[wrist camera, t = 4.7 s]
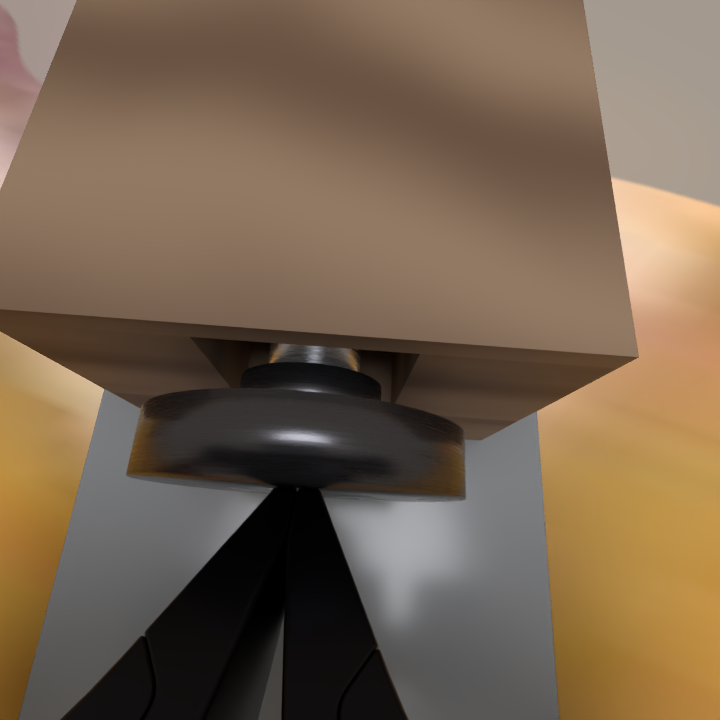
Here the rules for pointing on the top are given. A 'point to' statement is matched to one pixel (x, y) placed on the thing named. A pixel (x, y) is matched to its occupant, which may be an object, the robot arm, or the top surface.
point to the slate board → (366, 562)
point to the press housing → (321, 200)
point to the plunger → (300, 434)
